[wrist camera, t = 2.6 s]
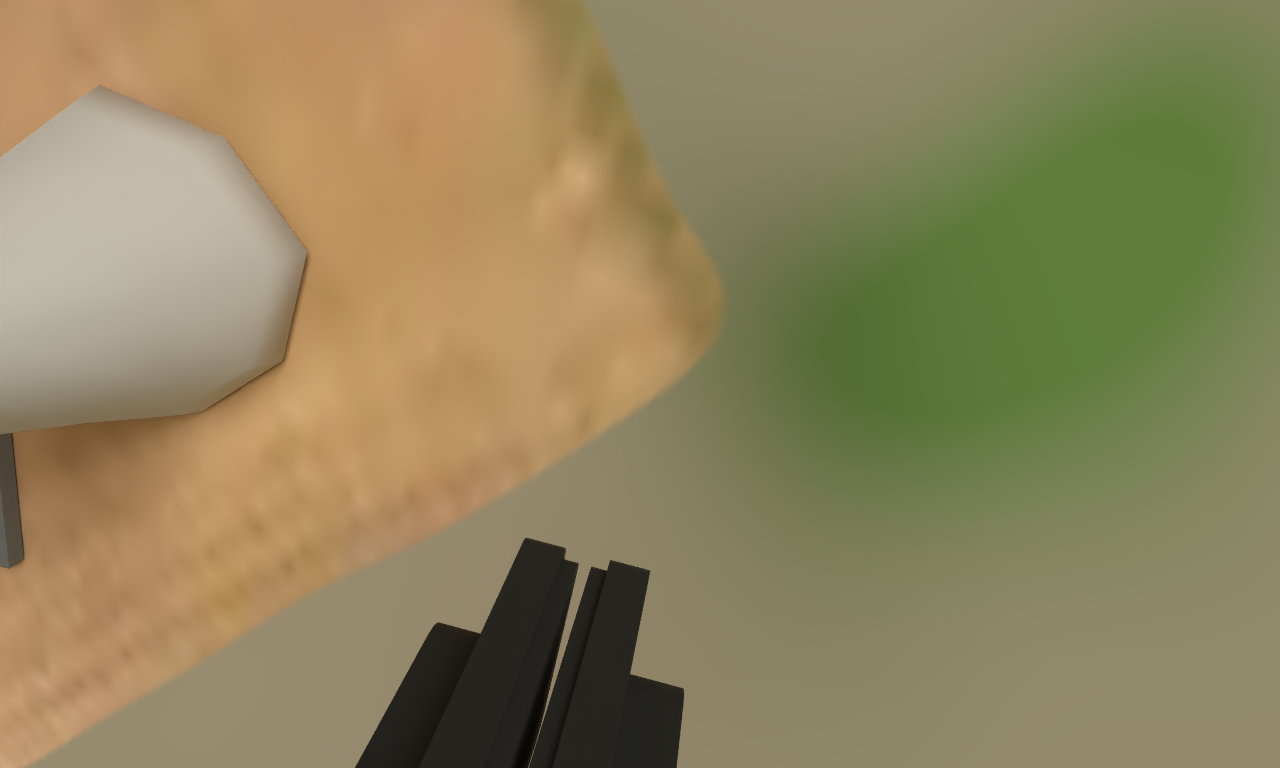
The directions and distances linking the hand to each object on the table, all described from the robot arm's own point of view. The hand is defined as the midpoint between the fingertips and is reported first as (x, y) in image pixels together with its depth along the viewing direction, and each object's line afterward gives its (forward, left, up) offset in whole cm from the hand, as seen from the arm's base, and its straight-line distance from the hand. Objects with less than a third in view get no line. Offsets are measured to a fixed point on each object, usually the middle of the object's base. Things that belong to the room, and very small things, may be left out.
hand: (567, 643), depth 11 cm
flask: (-12, 0, -9) cm, 15 cm away
